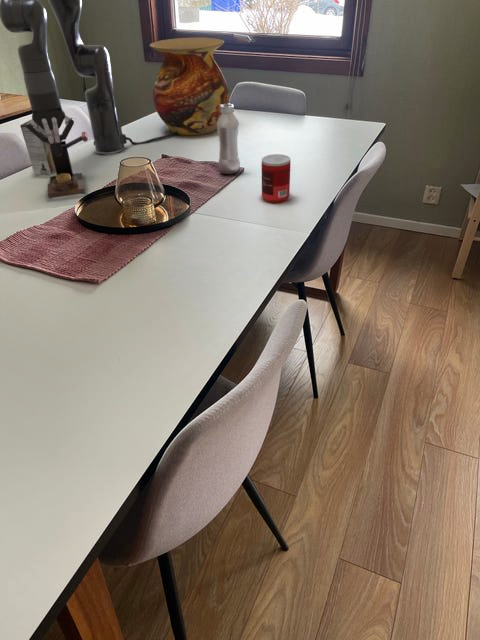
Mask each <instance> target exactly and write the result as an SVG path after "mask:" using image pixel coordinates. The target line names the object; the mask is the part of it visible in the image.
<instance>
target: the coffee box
mask: <svg viewBox="0 0 480 640" xmlns="http://www.w3.org/2000/svg"><path fill="white" fill-rule="evenodd" d="M31 120H32V118H31V119H30V120H28V121H26V122H24V123H22V124H20V130H21V134H22V136H23V140H24V143H25V147H26V150H27V154H28V157H29V160H30V161H29V162H30V164H31V168H32V172H33V174H34V175H42V176H53V175H54V174H55V173H56V169H55V165H54V161H53V157H52V153H51V150H50V144H49V143H48V142H43V141H41V140H40V139H39V138H38V137H37V136H36V135H34V134H33V133H32V132H31V131H30V130H29V129H27V127H26V126H27V123H28V122H30V121H31ZM35 124H36V126H37V127H36V128H37V129H38V130H39V131H41V132H42V133H43V134H44V135H45V136H47V134H46V131H45V130H43V129H42V128H41V127H40V126H39V125H38V124H37V123H36V122H35ZM51 132H52V135H53V138H54V141H55V135H54V130H51Z"/></svg>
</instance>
